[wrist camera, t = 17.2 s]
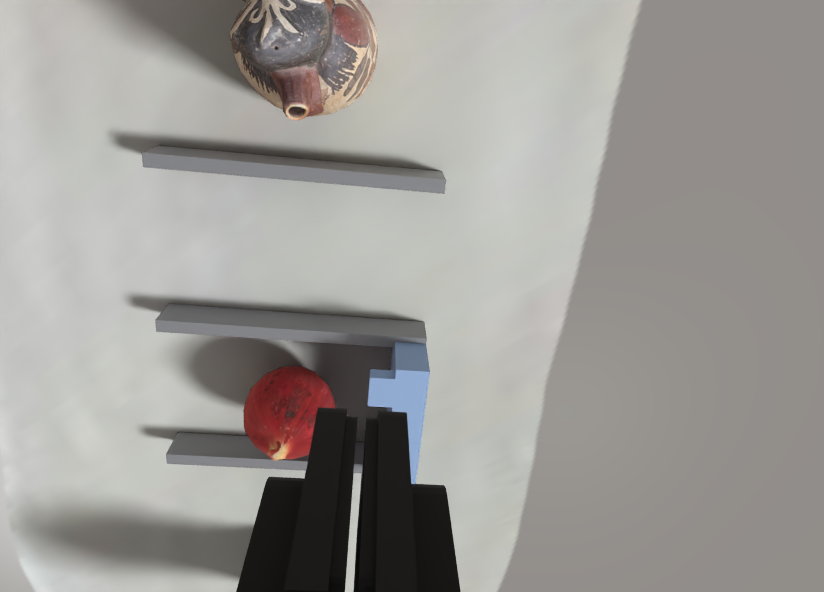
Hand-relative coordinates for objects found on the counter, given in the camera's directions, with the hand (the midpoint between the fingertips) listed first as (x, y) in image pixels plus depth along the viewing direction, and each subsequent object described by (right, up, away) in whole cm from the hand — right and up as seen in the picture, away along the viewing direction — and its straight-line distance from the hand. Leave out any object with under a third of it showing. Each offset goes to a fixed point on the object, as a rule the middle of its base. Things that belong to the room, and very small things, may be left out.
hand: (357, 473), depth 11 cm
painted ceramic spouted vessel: (-4, +17, +22) cm, 28 cm away
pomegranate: (-7, -3, +31) cm, 31 cm away
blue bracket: (0, -3, +31) cm, 31 cm away
